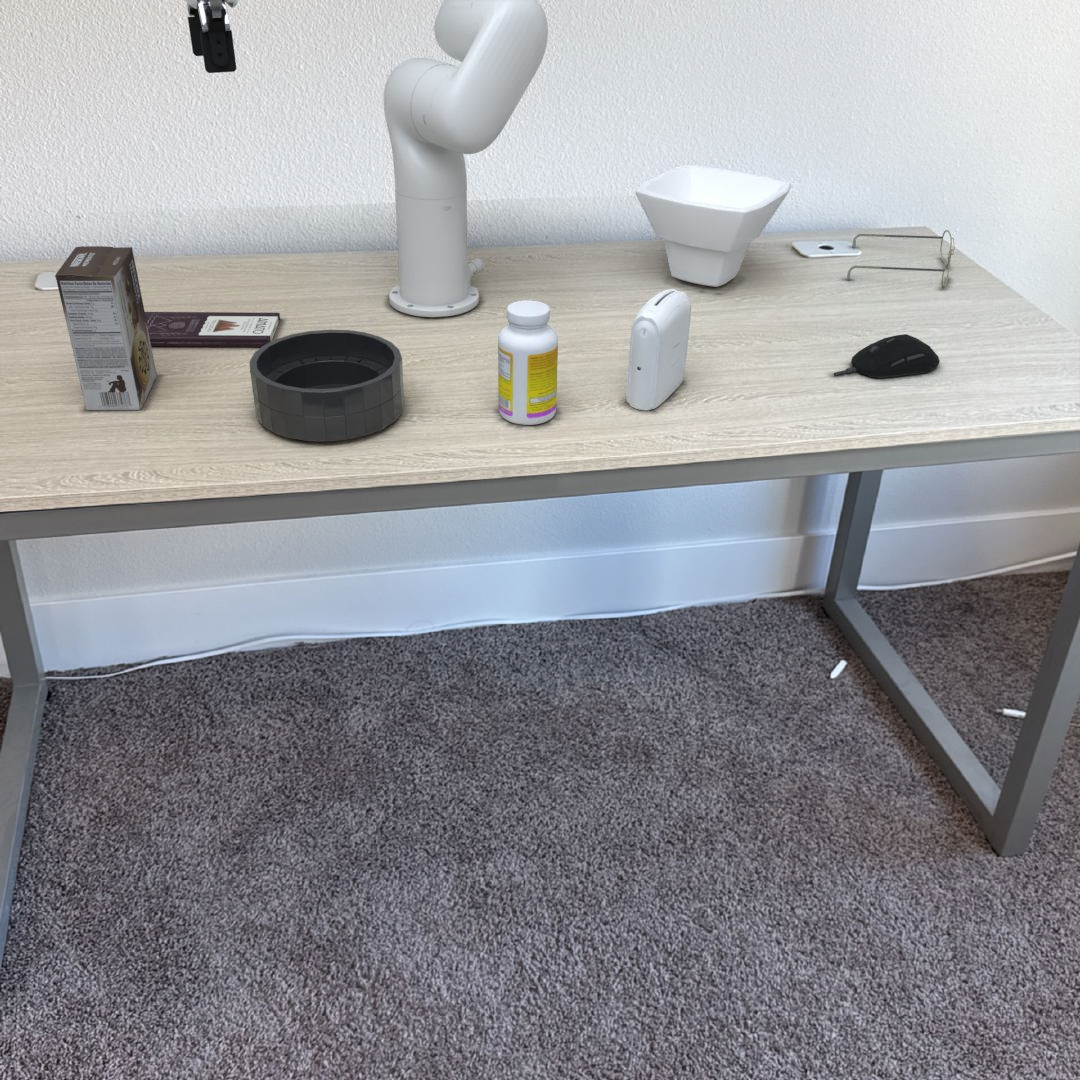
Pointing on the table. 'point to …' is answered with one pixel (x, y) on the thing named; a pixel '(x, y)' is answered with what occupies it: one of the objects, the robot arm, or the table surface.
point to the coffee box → (107, 327)
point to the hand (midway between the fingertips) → (214, 63)
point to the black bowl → (327, 385)
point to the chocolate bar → (211, 328)
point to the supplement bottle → (527, 364)
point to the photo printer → (658, 349)
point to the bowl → (709, 218)
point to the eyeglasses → (908, 268)
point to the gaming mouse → (894, 358)
